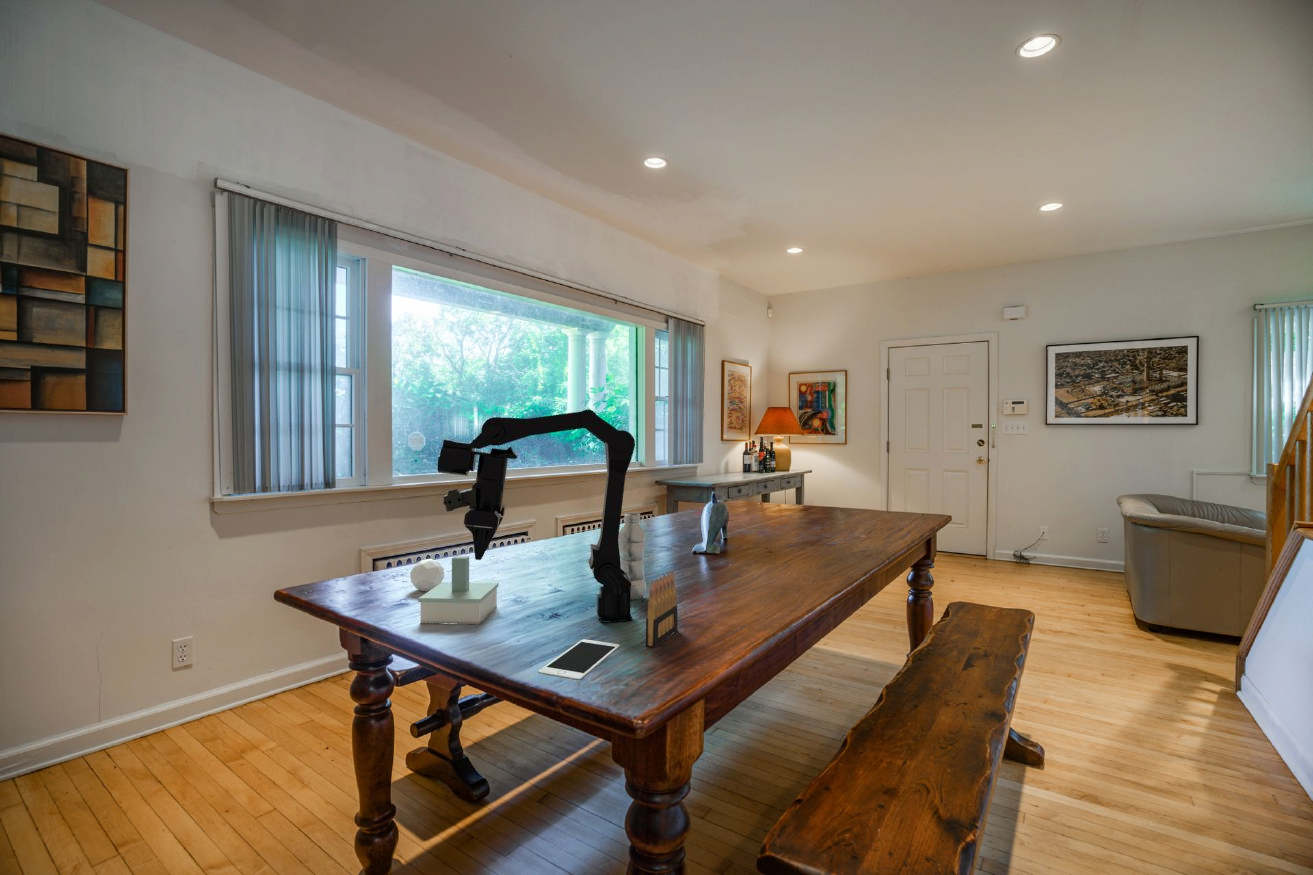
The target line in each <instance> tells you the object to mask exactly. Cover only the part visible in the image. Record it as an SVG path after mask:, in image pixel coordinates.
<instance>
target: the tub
mask: <svg viewBox="0 0 1313 875" xmlns="http://www.w3.org/2000/svg"><path fill="white" fill-rule="evenodd" d="M497 590H498V587H497V588H496V589H495V590H494V591H493V592H492V593H491V594H490V595H489V596H487V597H486V598H485V599H484V600H483V601H482V602H481V603H448V602H420V624H421V623H425V624H424V625H427V624H426V623H430V624H429V625H434V624H433V623H457V624H456V625H468V624H475V625H474V626H476V625H477V626H479V625H481V623H482V622H484V620H485V619H487V618H488V616H489V615H490V614H492V612H494V610H495V609H496V608H497V607H498V606H497V605H498V604H497V603H498V602H497V601H498V600H497V597H498V596H497V595H498V593H497ZM431 623H432V624H431Z"/></svg>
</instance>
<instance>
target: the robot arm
mask: <svg viewBox="0 0 1313 875" xmlns="http://www.w3.org/2000/svg"><path fill="white" fill-rule="evenodd" d="M581 429H584V430H586V431H588V432H589V433H590V434H591V435H593V436H594V437H596V439H598V440H599V441H601V443H603V444H604V449H605V450H604V451H605V464H606V472H607V473H606V480H605V490H604V499H603V508H602V518H601V525H600V534H599V538H598V541H597V542H596V544H593V543H590V556H589V558H588V562H587V563H588V565H589V569H590V570H591V571H592V574H593V577H594V579H595V581H596V582H597V583H599V584H601V585H602V586H599V593H598V594H596V614H597V617H598V618H599V619H600V622H602V623H609V622H625V621H626V622H629V621H633V616H632V614H631V608H632V606H631V604H632V600H631V589H630V587H631V582H630V580H629V578H628V576H627V574H626V573H625V572H624V571H623V570H622V569H621V562H620V560H621V559H620V549H619V542H618V538H619V532H620V530H621V529H620V527H621V518H622V508H623V502H624V501H623V500H624V492H625V484H626V483H625V482H626V477H627V476H626V475H627V471H628V470H629V467H630V464H631V462H632V458H633V454H634V451H635V449H636V440H635V438H634V436H633V435H632V434H631V433H630V432H628V431H627V430H624V429H620V430H619V429H617V428H616V427H614V426H613V425H612V424H610V423H609V422H607V421H606V420H604V419H603V418H601V417H600V416H598V415H597V413H596V412H595V411H594V410H592V409H584V410H582V411H576V412H575V411H573V412H568V413H566V412H565V413H559V414H551V415H545V416H538V417H537V416H535V417H529V418H528V417H527V418H524V417H523V418H520V417H505V416H504V417H502V416H501V417H500V416H499V417H498V416H497V417H495V416H493V417H490V418H488V419H486V420H485V421H484V423H483V424H482V426H481V429H480V430H481V431H480V433H479V434H478V435H477V436H476V437H475V438H474V439H472V441H471V442H461V441H455V440H453V439H448V438H447V439H443V441H442V447H441V449H440V452H439V455H438V456H437V473H438V474H447V475H454V476H455V475H457V476H466V477H467V476H468V475H469V472H475V469H476V464H477V463H478V464H477V470H476V478H475V482H474V483H472V486H471V488H469V489H465V490H464V489H463V490H459V489H458V488H454V489H452V490H448V492H447V494H445V495H443V496H442V498H443V503H442V504H443V505H444V506H445V510H446V512H452V511H454V510H456V509H460V508H466V507H468V509H469V510H468V511H467V512H466V513H465V514H464V520H463V525H464V527H465V528H466V529H468V531H469V532H470V533H471V534H472V540H473V549H474V550H473V551H474V552H473V553H474V559H475V560H476V561H477V560H478V561H482V559H483V556H484V554H485V553H486V551H487V549H488V548H489V546H490V544H491V542H492V540H493V538H494V537H495V535H496V532H497V530H498V529H499V527H500V524H501V523H502V520H503V519H504V516H505V514H506V513H505V511H506V505H505V504H504V501H503V499H504V491H505V489H506V479H507V478H506V476H507V469H508V461H509V459H510V460H516V459H518V456H519V455H518V454H516V452H515V451H514V449H513V447H512V446H509V447H508V448H506V449H502V448H494V447H495V446H496V447H497V446H502V445H506V444H508V443H512V442H515V441H517V440H521V439H524V438H527V437H531V436H537V435H543V434H544V435H545V434H552V433H558V432H559V433H560V432H566V431H567V432H568V431H574V430H581ZM489 446H494V447H493V448H491V449H490V452H488V451H487V452H485V451H475V449H476V450H477V449H478V450H481V449H484V448H487V447H489ZM477 456H478V460H477ZM476 462H477V463H476Z"/></svg>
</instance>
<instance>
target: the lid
mask: <svg viewBox="0 0 1313 875" xmlns="http://www.w3.org/2000/svg"><path fill="white" fill-rule="evenodd" d="M499 586H500V584H499V582H470V556H469V555H468V556H467V555H465V556H462V555H460V556H459V555H458V556H456V555H455V556H453V557H452V558H451V582H449V581H444V582H443V581H442V582H441V584H439V585H438V586H436V587H435V588H433V589H432V590H430V591H426V593H424V594H422V595H421V596H419V597H418V603H421V602H448V603H481V602H482V601H483V600H484V599H485V598H486V597H487V596H489V595H490V594H491V593H492V592H493V591H494V590H495V589H496V588H497V589H498V588H499Z"/></svg>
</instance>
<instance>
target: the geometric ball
mask: <svg viewBox="0 0 1313 875" xmlns="http://www.w3.org/2000/svg"><path fill="white" fill-rule="evenodd" d="M444 570H445V569H444V567H443V566H442V564H440V562H439V561H438V560H435V559H433V558H428V559H427V558H425V559H421V560H420V561H418V562H417V563H416V564H414V566H413V568H412V569H411V570H410V573H409V574H410V582H411V584H412V586H414V588H416V589H417V590H418V591H421V592H423V591H425V592H429V591H430V590H432V589H433V588H435V587H436V586H438V585H439V584H441V583H442V582H443V581H444V578H445V572H444Z"/></svg>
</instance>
